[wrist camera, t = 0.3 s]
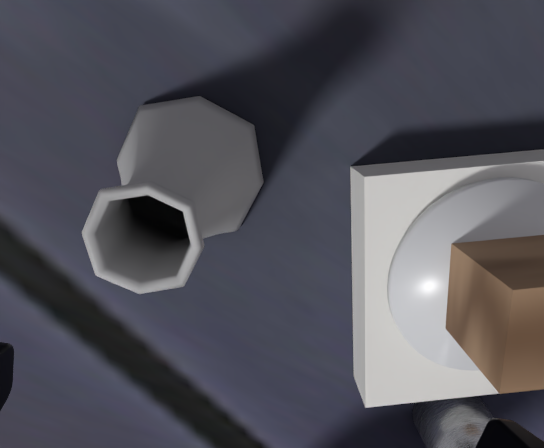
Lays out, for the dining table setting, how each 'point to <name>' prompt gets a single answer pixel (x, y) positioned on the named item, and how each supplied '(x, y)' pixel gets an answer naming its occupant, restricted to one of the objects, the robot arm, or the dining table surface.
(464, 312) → the walnut block
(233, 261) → the dining table surface
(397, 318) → the kitchen scale
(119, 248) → the flask
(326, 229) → the dining table surface
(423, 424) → the steel weight with knob
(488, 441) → the robot arm
